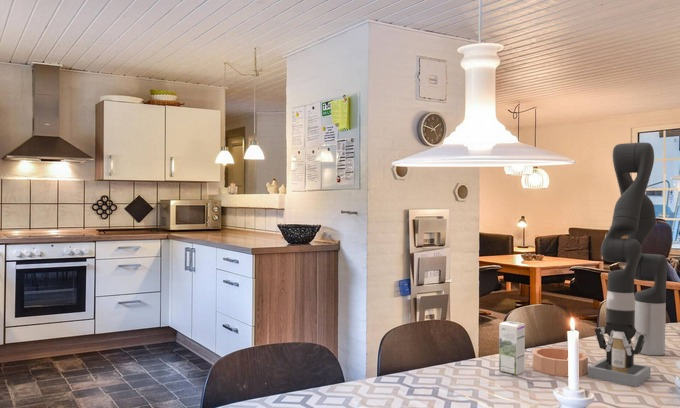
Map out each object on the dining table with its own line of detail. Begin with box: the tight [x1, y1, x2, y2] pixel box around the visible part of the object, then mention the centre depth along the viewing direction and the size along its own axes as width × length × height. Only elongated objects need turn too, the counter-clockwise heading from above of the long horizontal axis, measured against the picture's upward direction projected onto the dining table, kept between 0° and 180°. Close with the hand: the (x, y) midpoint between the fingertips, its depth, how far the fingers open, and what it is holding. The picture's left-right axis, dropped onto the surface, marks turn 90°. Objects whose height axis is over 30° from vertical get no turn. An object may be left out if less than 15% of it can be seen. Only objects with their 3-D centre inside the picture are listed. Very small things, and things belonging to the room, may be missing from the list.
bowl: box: [531, 346, 589, 377], centre depth 179 cm, size 15×15×4 cm
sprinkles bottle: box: [611, 331, 628, 373], centre depth 171 cm, size 5×5×13 cm
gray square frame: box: [587, 357, 652, 388], centre depth 171 cm, size 13×13×3 cm
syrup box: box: [498, 320, 526, 376], centre depth 175 cm, size 6×6×14 cm
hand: (619, 365), depth 171 cm, fingers closed on sprinkles bottle, 4 cm apart
